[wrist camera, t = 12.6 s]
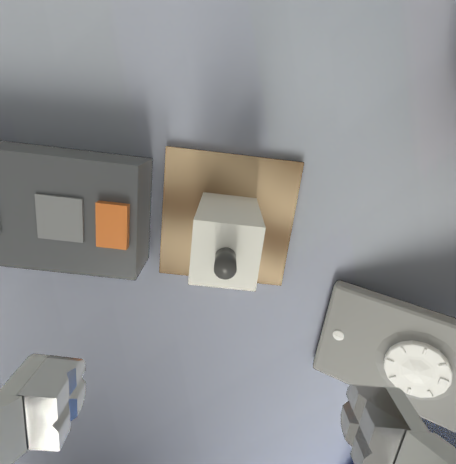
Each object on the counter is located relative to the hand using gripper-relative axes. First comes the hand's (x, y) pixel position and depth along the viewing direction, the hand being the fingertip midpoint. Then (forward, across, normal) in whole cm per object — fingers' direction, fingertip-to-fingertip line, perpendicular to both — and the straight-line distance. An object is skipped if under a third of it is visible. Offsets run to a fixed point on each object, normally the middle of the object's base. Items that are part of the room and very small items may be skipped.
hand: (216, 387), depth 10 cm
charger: (+16, 0, +1) cm, 16 cm away
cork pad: (+17, 0, +1) cm, 17 cm away
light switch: (+17, +16, -8) cm, 25 cm away
